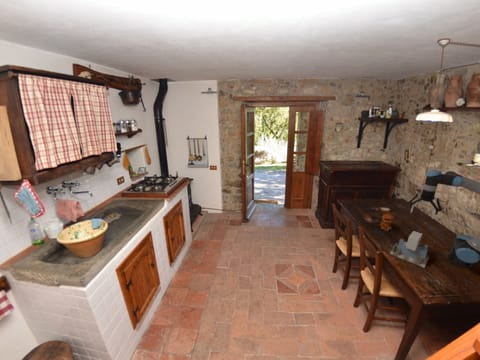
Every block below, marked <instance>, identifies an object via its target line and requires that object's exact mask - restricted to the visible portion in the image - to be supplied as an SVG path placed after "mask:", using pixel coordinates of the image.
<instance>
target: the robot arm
mask: <svg viewBox="0 0 480 360" xmlns="http://www.w3.org/2000/svg"><path fill="white" fill-rule="evenodd" d="M438 185H444V186H450V187H454V188H456V187H457V188H463V189H466V190H468V191H470V192H472V193H474V194H477V195H480V182H479V181H476V180H475V179H471V178H469V177H466V176H464V175H461V174H459V173H457V172H455V171H454V170H448V171H446V172H444V173H442V171H441V170H439V169H429V170H427V174H426V177H425V181H424V184H423V188H422V191H421V193H418V192H417V193H416V194H415V196H413V198H411V199H410V200H409V201H408V204H410V206H409V208H410V213H413V210H414V207H415V204H417V203H419V202H420V201H423V202H427V203H430V204H431V206H432V207H433V209H435V210H434V211H433V214H432V219H435V217H436V215H438V213H439V212H442V211H443V209H442V208H443V207H442V205H441V201H440V197H435V195H436V191H437V189H438ZM418 197H420V198H419V199H417V198H418ZM415 199H416V200H415ZM414 200H415V201H414ZM434 200H435V201H436V203H437V204H435V202H434ZM445 259H446V260H447V261H448V262H450V263H451V264H453V265H455V266H457V267H460V268H464V269H470V268H473V265H474V264H475V263H478V262H479V261H480V233H479V234H477V235H476V236H475V237H473V236H471V235H468V234H467V235H466V234H464V233H463V234H461V233H459V234H457V235H456V236H455V240H454V243H453V245H452V248H451V250H450V251H449V252H448V253H447V254H446V256H445Z"/></svg>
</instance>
